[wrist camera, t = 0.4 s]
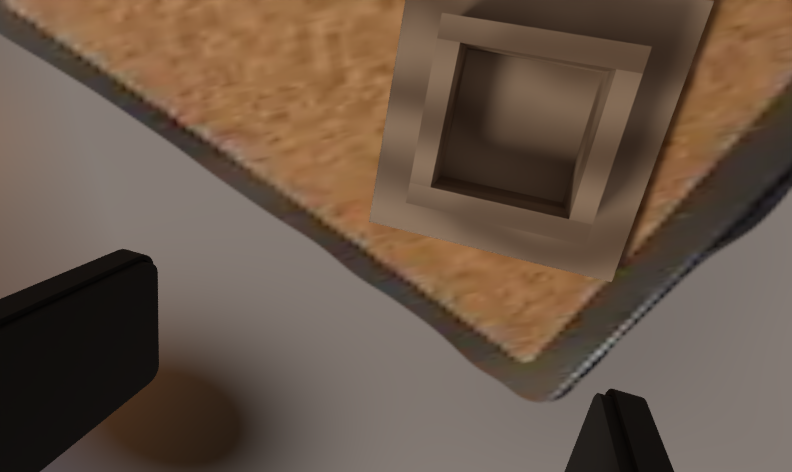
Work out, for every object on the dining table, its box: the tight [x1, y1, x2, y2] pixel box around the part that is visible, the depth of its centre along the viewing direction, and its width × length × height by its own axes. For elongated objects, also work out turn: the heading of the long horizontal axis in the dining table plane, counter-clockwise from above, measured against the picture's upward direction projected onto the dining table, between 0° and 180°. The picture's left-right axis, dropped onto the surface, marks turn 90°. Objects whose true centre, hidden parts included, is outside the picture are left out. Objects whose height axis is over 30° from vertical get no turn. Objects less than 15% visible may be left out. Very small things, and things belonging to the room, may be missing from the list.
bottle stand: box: [369, 0, 714, 282], centre depth 33 cm, size 20×20×6 cm
